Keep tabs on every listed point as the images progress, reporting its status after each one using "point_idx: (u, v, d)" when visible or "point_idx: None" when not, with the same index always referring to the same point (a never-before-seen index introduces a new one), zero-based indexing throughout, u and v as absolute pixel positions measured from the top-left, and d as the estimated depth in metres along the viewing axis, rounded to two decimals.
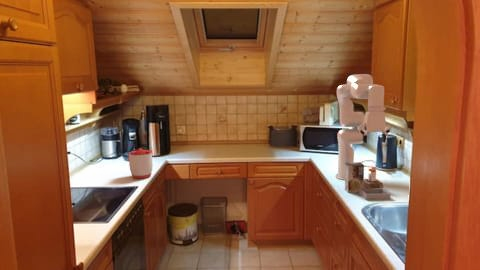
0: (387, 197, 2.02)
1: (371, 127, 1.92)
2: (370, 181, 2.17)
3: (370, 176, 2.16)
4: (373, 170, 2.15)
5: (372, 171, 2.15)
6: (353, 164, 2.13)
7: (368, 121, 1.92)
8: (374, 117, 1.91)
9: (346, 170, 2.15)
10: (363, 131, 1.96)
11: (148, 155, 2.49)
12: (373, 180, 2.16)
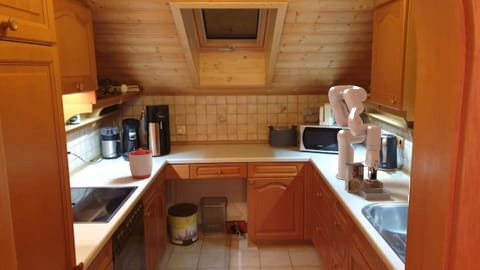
0: (387, 197, 2.02)
1: None
2: (370, 181, 2.17)
3: (370, 176, 2.16)
4: None
5: None
6: (353, 164, 2.13)
7: None
8: None
9: (346, 170, 2.15)
10: (372, 170, 2.14)
11: (148, 155, 2.49)
12: (373, 180, 2.16)
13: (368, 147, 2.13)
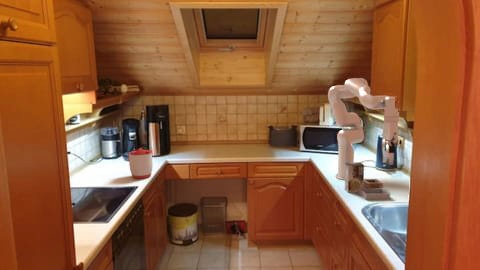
0: (387, 197, 2.02)
1: None
2: (388, 155, 2.08)
3: (388, 150, 2.08)
4: None
5: None
6: (353, 164, 2.13)
7: (397, 130, 2.04)
8: None
9: (346, 170, 2.15)
10: (390, 142, 2.06)
11: (148, 155, 2.49)
12: (391, 154, 2.08)
13: (386, 119, 2.05)
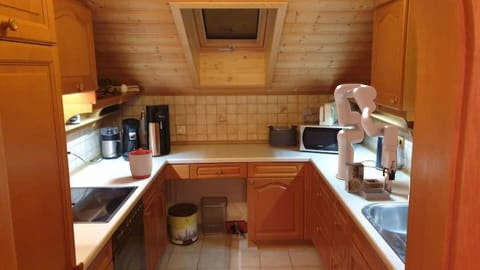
0: (387, 197, 2.02)
1: None
2: (387, 183, 2.11)
3: (386, 178, 2.11)
4: None
5: (388, 173, 2.10)
6: (353, 164, 2.13)
7: (396, 159, 2.06)
8: None
9: (346, 170, 2.15)
10: (390, 170, 2.07)
11: (148, 155, 2.49)
12: (390, 182, 2.11)
13: (385, 147, 2.08)
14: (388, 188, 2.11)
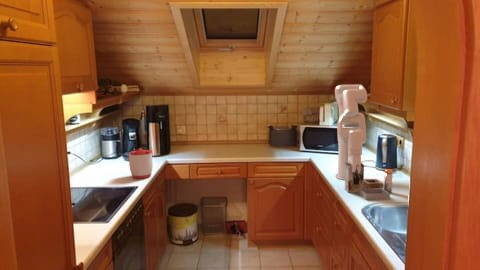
0: (387, 197, 2.02)
1: None
2: (387, 183, 2.11)
3: (386, 178, 2.11)
4: (389, 172, 2.10)
5: (388, 173, 2.10)
6: None
7: (360, 163, 2.10)
8: None
9: (346, 170, 2.15)
10: (354, 174, 2.11)
11: (148, 155, 2.49)
12: (390, 182, 2.11)
13: (350, 151, 2.12)
14: (388, 188, 2.11)
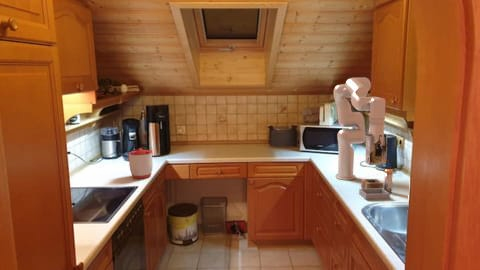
0: (387, 197, 2.02)
1: None
2: (387, 183, 2.11)
3: (386, 178, 2.11)
4: (389, 172, 2.10)
5: (388, 173, 2.10)
6: None
7: (383, 133, 1.97)
8: None
9: (367, 141, 2.02)
10: (376, 145, 1.98)
11: (148, 155, 2.49)
12: (390, 182, 2.11)
13: (371, 121, 1.98)
14: (388, 188, 2.11)
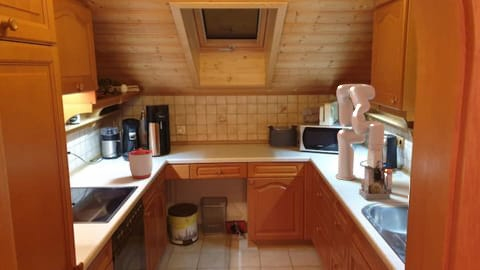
0: (387, 197, 2.02)
1: None
2: (387, 183, 2.11)
3: (386, 178, 2.11)
4: (389, 172, 2.10)
5: (388, 173, 2.10)
6: None
7: None
8: None
9: (366, 174, 2.05)
10: (376, 169, 1.99)
11: (148, 155, 2.49)
12: (390, 182, 2.11)
13: (370, 146, 2.01)
14: (388, 188, 2.11)
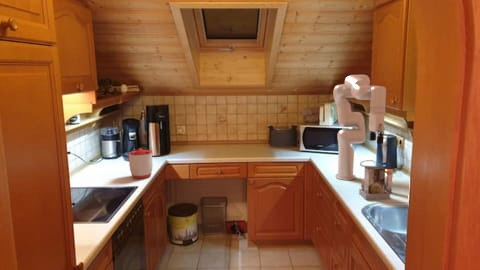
0: (387, 197, 2.02)
1: None
2: (387, 183, 2.11)
3: (386, 178, 2.11)
4: (390, 172, 2.10)
5: (388, 173, 2.10)
6: (373, 168, 2.03)
7: None
8: None
9: (366, 174, 2.05)
10: (378, 133, 1.96)
11: (148, 155, 2.49)
12: (390, 182, 2.11)
13: (372, 109, 1.97)
14: (388, 188, 2.11)
